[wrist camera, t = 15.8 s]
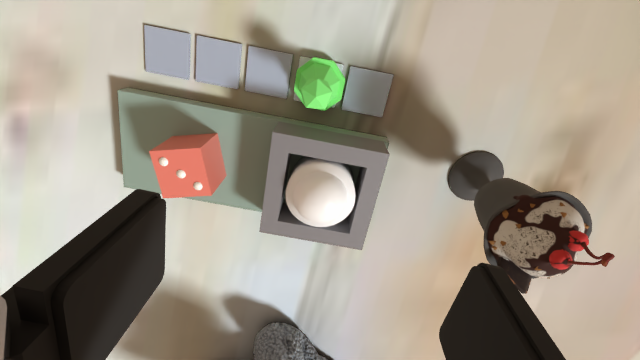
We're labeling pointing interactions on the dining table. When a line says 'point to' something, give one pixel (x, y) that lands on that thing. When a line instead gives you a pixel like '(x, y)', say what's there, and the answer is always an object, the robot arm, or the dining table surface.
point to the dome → (320, 192)
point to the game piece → (319, 83)
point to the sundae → (523, 221)
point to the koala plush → (283, 344)
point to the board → (254, 159)
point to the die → (189, 165)
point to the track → (253, 69)
